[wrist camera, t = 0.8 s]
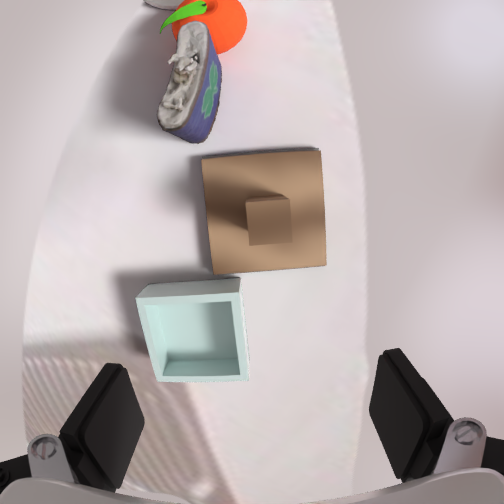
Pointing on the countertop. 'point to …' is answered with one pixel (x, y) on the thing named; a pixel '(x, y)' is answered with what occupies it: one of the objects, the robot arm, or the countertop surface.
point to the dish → (195, 330)
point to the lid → (265, 211)
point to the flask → (192, 86)
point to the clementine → (212, 20)
